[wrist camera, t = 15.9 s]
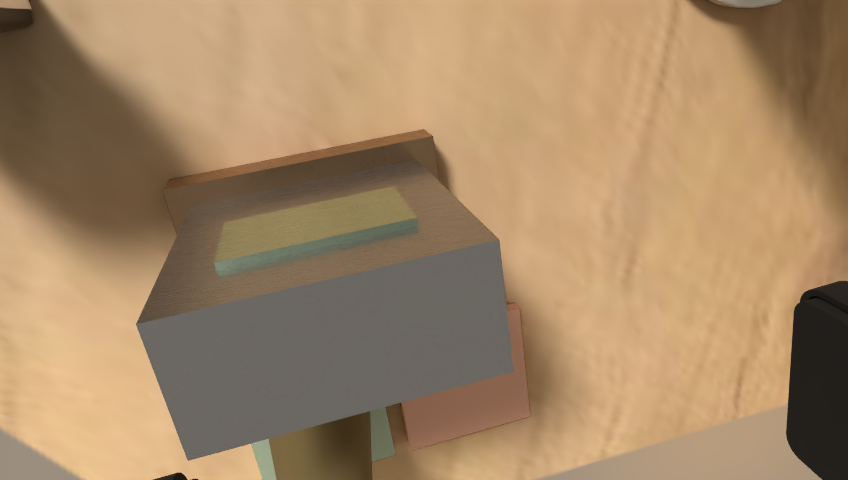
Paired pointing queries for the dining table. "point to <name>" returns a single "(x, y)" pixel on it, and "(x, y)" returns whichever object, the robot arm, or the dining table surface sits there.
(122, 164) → the dining table surface
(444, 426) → the terracotta pad
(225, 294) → the grey unit
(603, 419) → the dining table surface
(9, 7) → the battery charger
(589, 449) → the dining table surface
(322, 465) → the brown pepper mill
